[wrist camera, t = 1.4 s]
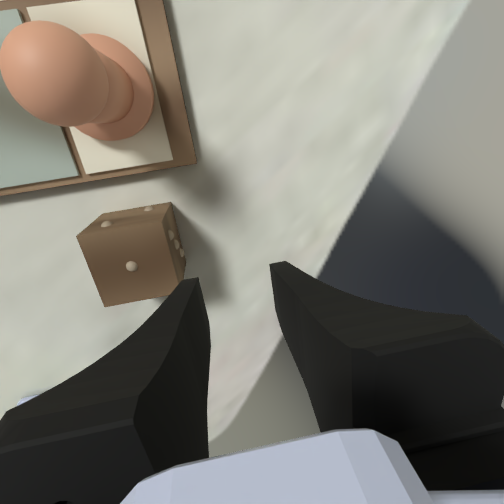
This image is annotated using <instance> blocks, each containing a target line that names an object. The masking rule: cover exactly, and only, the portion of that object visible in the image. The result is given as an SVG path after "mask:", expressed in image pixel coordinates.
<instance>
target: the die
mask: <svg viewBox="0 0 504 504" xmlns="http://www.w3.org/2000/svg"><path fill="white" fill-rule="evenodd" d="M76 237H77V239H78V242H79V244H80V247H81V249H82V252H83V254H84V257H85V259H86V262H87V264H88V267H89V269H90V272H91V274H92V277H93V279H94V282H95V284H96V287H97V289H98V292H99V294H100V297H101V299H102V302H103V304H104V307H109V306H114V305H119V304H124V303H130V302H135V301H140V300H146V299H151V298H156V297H162V296H167V295H170V294H171V293H172V291H173V290H174V289H175V288H176V286H177V285H178V284H179V283H180V282H181V281H182V280H183V278H184V272H185V266H186V260H185V256H184V251H183V248H182V244H181V240H180V236H179V232H178V228H177V224H176V220H175V216H174V212H173V208H172V205H171V202H168V203H162V204H157V205H151V206H145V207H139V208H133V209H127V210H121V211H115V212H110V213H104V214H102V215H101V216H99V217H98V218H97V219H96V220H95V221H94V222H92V223H91V224H90V225H89V226H88V227H87V228H85V229H84V230H83V231H82V232H81V233H79V234H78V235H77V236H76Z"/></svg>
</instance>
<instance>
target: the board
mask: <svg viewBox="0 0 504 504" xmlns="http://www.w3.org/2000/svg"><path fill="white" fill-rule="evenodd" d="M38 20H41V21H50V22H54V23H58V24H60V25H63V26H65V27H67V28H69V29H71V30H73V31H75V32H76V33H78V34H79V35H81V34H89V33H94V34H101V35H105V36H108V37H111V38H113V39H115V40H117V41H119V42H120V43H122V44H123V45H125V46H126V47H127V48H128V49H129V50H131V51H132V52H133V53H134V54H135V55H136V56H137V57H138V58H139V59H140V61H141V62H142V63H143V65H144V66H145V68H146V70H147V72H148V74H149V76H150V78H151V82H152V85H153V90H154V107H153V111H152V114H151V117H150V119H149V121H148V123H147V124H146V125H145V127H144V128H143V129H142V130H141V131H139V132H138V133H137V134H135V135H133V136H131V137H129V138H126V139H122V140H116V141H105V140H99V139H96V138H92V137H90V136H88V135H86V134H84V133H82V132H81V131H79V130H78V129H76V128H75V127H63V126H57V125H53V124H49V123H47V122H45V121H42V120H40V119H38V118H36V117H35V116H33V115H32V114H30V113H29V112H28V111H26V110H25V109H24V108H23V107H22V106H21V105H20V104H19V103H18V102H17V101H16V100H15V99H14V97H13V96H12V95H11V93H10V92H9V90H8V88H7V86H6V84H5V82H4V80H3V77H2V74H1V70H0V196H3V195H9V194H15V193H21V192H27V191H33V190H39V189H45V188H51V187H57V186H63V185H69V184H75V183H82V182H88V181H94V180H100V179H106V178H112V177H118V176H124V175H130V174H136V173H142V172H148V171H154V170H160V169H166V168H172V167H178V166H185V165H191V164H197V160H196V155H195V150H194V146H193V141H192V136H191V131H190V127H189V122H188V117H187V112H186V108H185V103H184V98H183V93H182V89H181V84H180V79H179V74H178V69H177V65H176V60H175V55H174V50H173V46H172V41H171V36H170V31H169V27H168V22H167V17H166V12H165V8H164V3H163V0H3V1H0V49H1V46H2V43H3V41H4V39H5V37H6V36H7V35H8V33H9V32H10V31H11V30H12V29H14V28H15V27H17V26H18V25H20V24H23V23H26V22H30V21H38Z"/></svg>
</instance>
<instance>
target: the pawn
mask: <svg viewBox="0 0 504 504" xmlns="http://www.w3.org/2000/svg"><path fill="white" fill-rule="evenodd" d="M0 70H1V74H2V77H3V80H4V82H5V84H6V86H7V88H8V90H9V92H10V93H11V95H12V96H13V97H14V99H15V100H16V101H17V102H18V103H19V104H20V105H21V106H22V107H23V108H24V109H25V110H26V111H28V112H29V113H30V114H32V115H33V116H35V117H36V118H38V119H40V120H42V121H45V122H47V123H49V124H53V125H57V126H63V127H75V128H76V129H78V130H79V131H81V132H82V133H84V134H86V135H88V136H90V137H92V138H96V139H99V140H105V141H116V140H122V139H126V138H129V137H131V136H133V135H135V134H137V133H138V132H139V131H141V130H142V129H143V128H144V127H145V125H146V124H147V123H148V121H149V119H150V117H151V114H152V111H153V107H154V90H153V85H152V82H151V78H150V76H149V74H148V72H147V70H146V68H145V66H144V65H143V63H142V62H141V61H140V59H139V58H138V57H137V56H136V55H135V54H134V53H133V52H132V51H131V50H129V49H128V48H127V47H126V46H125V45H123V44H122V43H120V42H119V41H117V40H115V39H113V38H111V37H108V36H105V35H101V34H94V33H89V34H81V35H79V34H78V33H76V32H75V31H73V30H71V29H69V28H67V27H65V26H63V25H60V24H58V23H54V22H50V21H41V20H38V21H30V22H26V23H23V24H20V25H18V26H17V27H15V28H14V29H12V30H11V31H10V32H9V33H8V35H7V36H6V37H5V39H4V41H3V43H2V46H1V49H0Z"/></svg>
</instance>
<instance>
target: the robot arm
mask: <svg viewBox="0 0 504 504" xmlns="http://www.w3.org/2000/svg"><path fill="white" fill-rule="evenodd" d="M269 265H270V272H271V280H272V287H273V295H274V302H275V310H276V313H277V317H278V320H279V323H280V327H281V330H282V333H283V335H284V337H285V340H286V342H287V344H288V347H289V349H290V351H291V353H292V356H293V358H294V360H295V362H296V365H297V367H298V369H299V372H300V374H301V376H302V378H303V381H304V383H305V386H306V388H307V391H308V394H309V397H310V400H311V403H312V406H313V410H314V413H315V416H316V419H317V422H318V425H319V428H320V432H321V433H318V434H313V435H309V436H304V437H300V438H295V439H291V440H286V441H282V442H278V443H273V444H268V445H264V446H260V447H255V448H251V449H246V450H242V451H237V452H233V453H229V454H224V455H220V456H215V457H211V458H209V451H208V427H207V396H208V381H209V367H210V350H211V341H210V326H209V320H208V316H207V312H206V307H205V303H204V299H203V295H202V291H201V287H200V283H199V279H198V278H192V279H187V280H182V281H181V282H180V283H179V284H178V285H177V286H176V288H175V289H174V290H173V291H172V293H171V294H170V295H169V296H168V297H167V299H166V300H165V301H164V302H163V303H162V304H161V306H160V307H159V308H158V309H157V310H156V311H155V312H154V313H153V314H152V315H151V316H150V317H149V318H148V319H147V320H146V321H145V323H144V324H143V325H141V326H140V327H139V328H138V329H137V330H136V331H135V332H134V333H133V334H132V335H130V336H129V337H128V338H127V339H126V340H124V341H123V342H122V343H121V344H120V345H118V346H117V347H116V348H114V349H113V350H111V351H110V352H109V353H107V354H106V355H104V356H103V357H102V358H100V359H99V360H97V361H96V362H95V363H93V364H92V365H90V366H89V367H87V368H85V369H84V370H82V371H81V372H79V373H78V374H76V375H74V376H72V377H71V378H69V379H67V380H66V381H64V382H62V383H61V384H59V385H57V386H55V387H53V388H52V389H50V390H48V391H46V392H44V393H42V394H40V395H35V396H30V397H25V398H22V399H21V400H20V401H19V402H18V404H17V406H16V407H14V408H12V409H10V410H8V411H7V412H6V413H5V414H4V416H3V417H2V419H1V420H0V504H504V409H503V408H502V407H501V403H502V400H503V396H504V345H503V343H502V342H501V341H500V340H499V339H498V338H496V337H495V336H494V335H492V334H491V333H490V332H488V331H487V330H486V329H484V328H483V327H482V326H480V325H479V324H478V323H476V322H475V321H474V320H472V319H471V318H469V317H468V316H466V315H455V314H444V313H434V312H424V311H418V310H412V309H405V308H400V307H395V306H390V305H386V304H382V303H378V302H374V301H370V300H367V299H363V298H360V297H357V296H354V295H352V294H349V293H346V292H343V291H341V290H338V289H336V288H334V287H332V286H329V285H327V284H325V283H323V282H321V281H319V280H317V279H315V278H313V277H312V276H310V275H308V274H306V273H305V272H303V271H301V270H300V269H298V268H296V267H295V266H293V265H291V264H290V263H288V262H286V261H283V262H277V263H272V264H269Z"/></svg>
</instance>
